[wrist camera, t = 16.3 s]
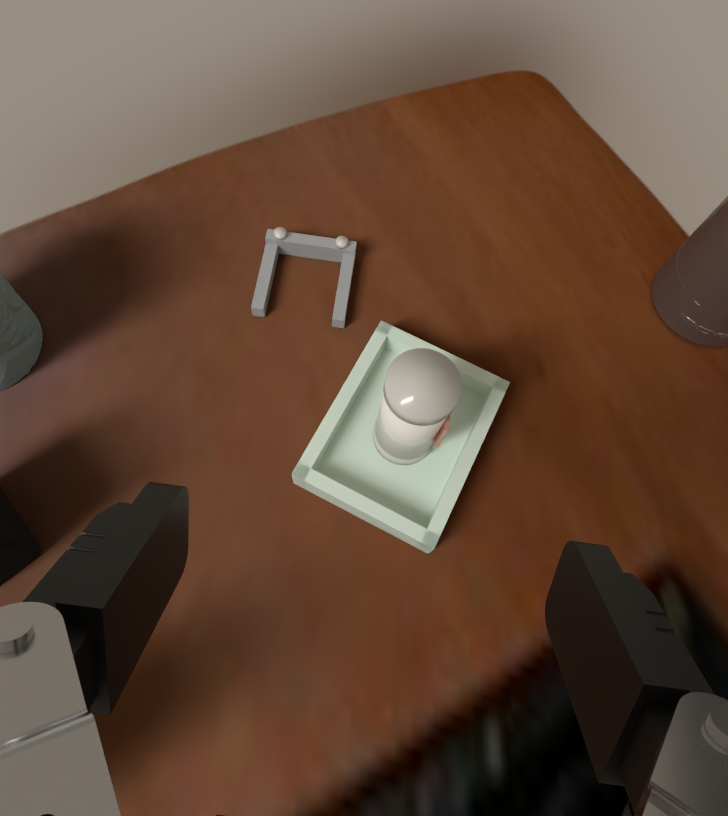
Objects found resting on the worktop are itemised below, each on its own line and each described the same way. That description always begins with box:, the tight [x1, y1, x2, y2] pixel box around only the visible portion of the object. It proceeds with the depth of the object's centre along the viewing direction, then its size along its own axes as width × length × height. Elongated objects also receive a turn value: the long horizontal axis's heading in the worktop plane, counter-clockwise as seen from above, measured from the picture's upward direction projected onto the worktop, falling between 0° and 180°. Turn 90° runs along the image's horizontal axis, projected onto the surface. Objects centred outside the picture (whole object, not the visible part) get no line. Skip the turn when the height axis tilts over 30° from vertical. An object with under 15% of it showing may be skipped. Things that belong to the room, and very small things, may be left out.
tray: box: [291, 321, 510, 554], centre depth 42 cm, size 14×11×3 cm
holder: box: [251, 227, 357, 328], centre depth 47 cm, size 7×8×2 cm
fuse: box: [373, 348, 462, 465], centre depth 38 cm, size 5×5×10 cm
